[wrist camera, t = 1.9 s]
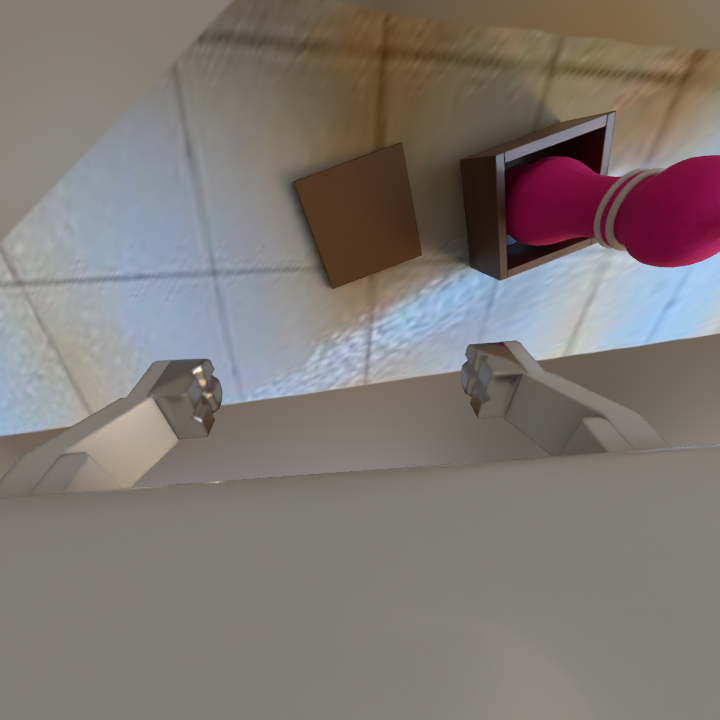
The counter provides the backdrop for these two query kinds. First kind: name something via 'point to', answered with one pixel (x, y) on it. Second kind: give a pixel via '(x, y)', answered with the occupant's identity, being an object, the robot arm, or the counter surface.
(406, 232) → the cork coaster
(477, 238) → the mill holder
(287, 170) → the counter surface
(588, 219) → the pepper mill
